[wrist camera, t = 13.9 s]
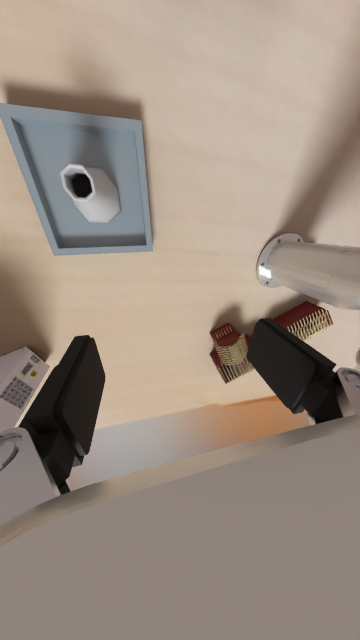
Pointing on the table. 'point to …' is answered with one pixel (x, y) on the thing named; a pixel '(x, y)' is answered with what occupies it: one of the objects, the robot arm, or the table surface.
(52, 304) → the table surface
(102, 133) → the tray
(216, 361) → the toy houses
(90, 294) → the table surface
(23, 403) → the game console
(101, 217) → the flask
